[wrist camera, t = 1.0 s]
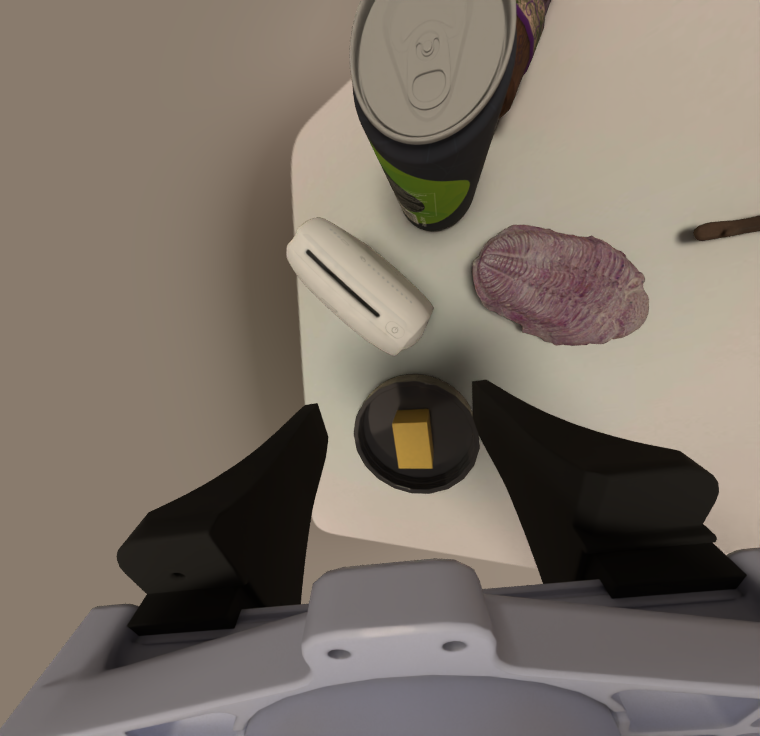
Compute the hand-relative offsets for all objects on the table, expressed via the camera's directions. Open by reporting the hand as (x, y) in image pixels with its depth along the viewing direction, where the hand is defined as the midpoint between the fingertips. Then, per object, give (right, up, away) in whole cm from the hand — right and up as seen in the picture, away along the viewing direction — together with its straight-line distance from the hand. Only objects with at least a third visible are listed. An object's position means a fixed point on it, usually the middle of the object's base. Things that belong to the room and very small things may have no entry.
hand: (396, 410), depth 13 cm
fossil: (+14, +9, +11) cm, 20 cm away
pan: (+3, -5, +17) cm, 18 cm away
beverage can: (+4, +17, +11) cm, 21 cm away
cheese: (+3, -5, +17) cm, 18 cm away
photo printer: (0, +10, +14) cm, 17 cm away
